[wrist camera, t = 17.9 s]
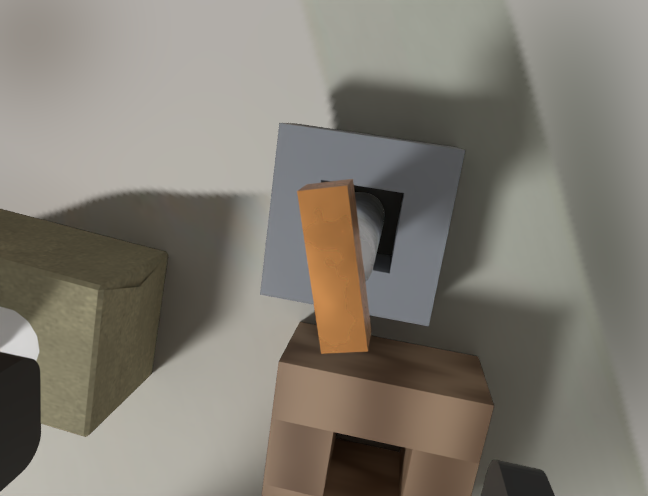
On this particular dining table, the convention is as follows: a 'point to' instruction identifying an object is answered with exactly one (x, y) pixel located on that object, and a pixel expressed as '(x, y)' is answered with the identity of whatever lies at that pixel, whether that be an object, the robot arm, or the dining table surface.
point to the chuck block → (375, 420)
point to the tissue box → (79, 315)
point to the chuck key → (340, 260)
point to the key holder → (374, 172)
